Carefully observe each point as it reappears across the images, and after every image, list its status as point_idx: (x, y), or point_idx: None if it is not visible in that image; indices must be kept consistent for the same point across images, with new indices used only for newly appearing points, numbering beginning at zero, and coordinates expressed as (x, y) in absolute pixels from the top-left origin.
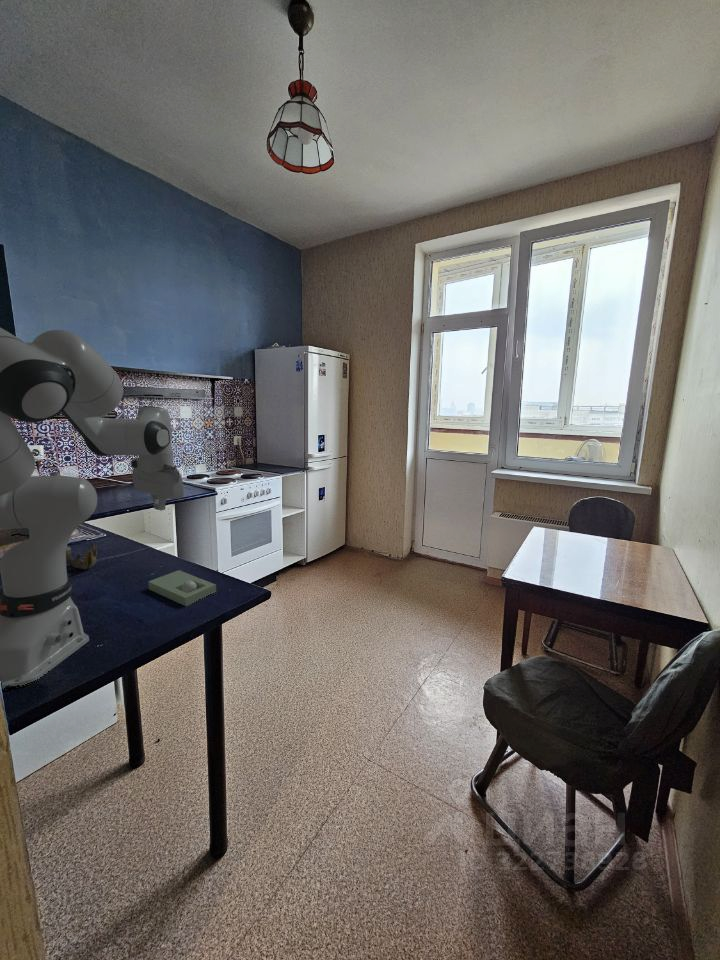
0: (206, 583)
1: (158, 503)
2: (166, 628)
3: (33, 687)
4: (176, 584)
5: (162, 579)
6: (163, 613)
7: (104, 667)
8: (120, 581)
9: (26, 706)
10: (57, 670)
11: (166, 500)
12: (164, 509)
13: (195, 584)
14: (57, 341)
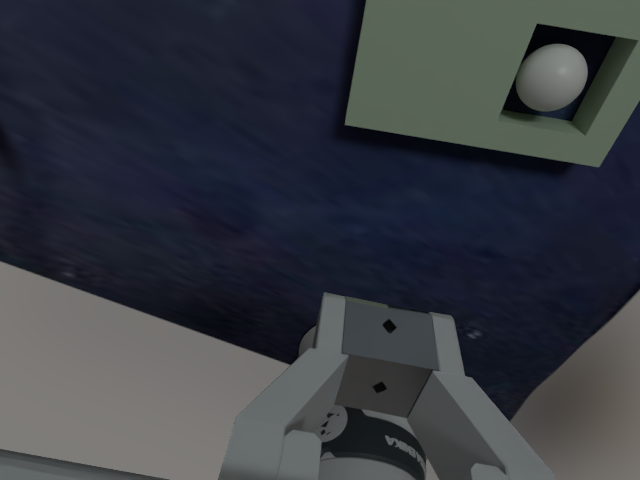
0: (633, 21)
1: (423, 440)
2: (591, 256)
3: None
4: (483, 94)
5: (385, 84)
6: (529, 208)
7: (542, 366)
8: (187, 109)
9: None
10: None
11: (519, 437)
12: (447, 318)
13: (586, 67)
14: None
